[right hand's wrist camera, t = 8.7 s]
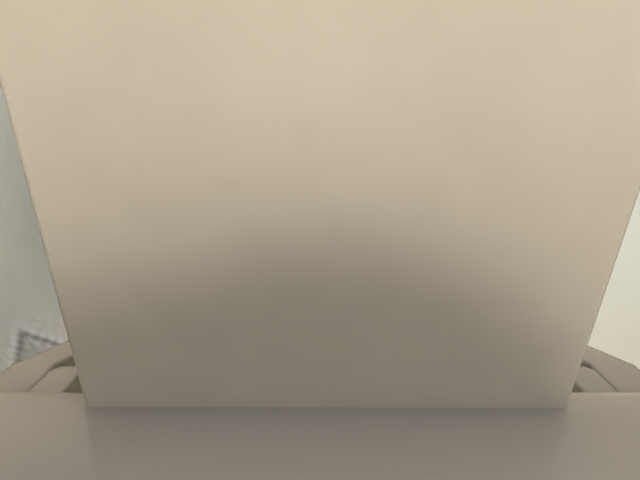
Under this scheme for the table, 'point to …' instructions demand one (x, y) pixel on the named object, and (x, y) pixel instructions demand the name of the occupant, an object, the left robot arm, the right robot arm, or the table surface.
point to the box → (327, 193)
